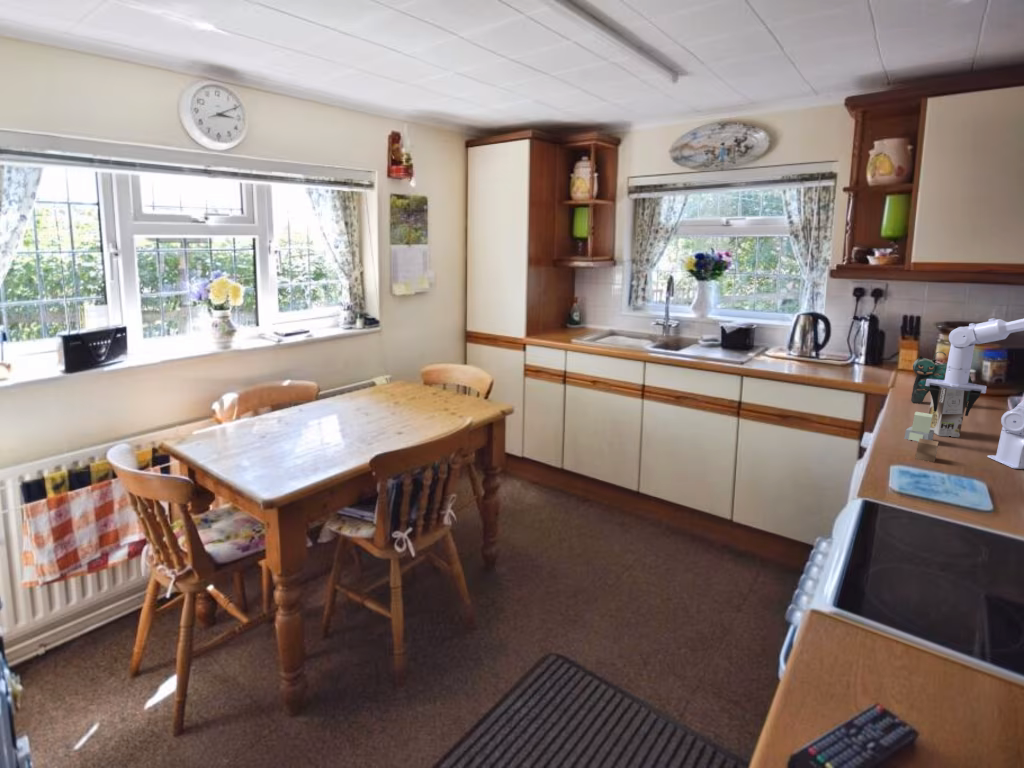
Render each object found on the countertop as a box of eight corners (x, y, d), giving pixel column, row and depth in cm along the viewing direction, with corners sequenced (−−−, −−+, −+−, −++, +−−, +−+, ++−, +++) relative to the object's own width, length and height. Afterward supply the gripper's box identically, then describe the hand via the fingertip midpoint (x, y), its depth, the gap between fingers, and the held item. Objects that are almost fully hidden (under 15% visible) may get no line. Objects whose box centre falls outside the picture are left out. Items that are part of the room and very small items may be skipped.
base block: (932, 441, 195) (934, 430, 194) (926, 445, 191) (928, 434, 190) (910, 436, 200) (912, 425, 199) (903, 440, 196) (905, 429, 195)
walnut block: (935, 458, 179) (938, 441, 178) (934, 462, 176) (937, 445, 174) (916, 455, 182) (919, 438, 181) (915, 459, 178) (918, 442, 177)
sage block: (929, 429, 195) (932, 414, 193) (929, 433, 191) (932, 417, 190) (912, 427, 197) (915, 411, 196) (911, 430, 194) (914, 414, 192)
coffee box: (960, 437, 198) (970, 387, 195) (937, 436, 200) (946, 386, 196) (947, 429, 207) (956, 381, 203) (925, 427, 208) (934, 379, 205)
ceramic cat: (909, 403, 239) (918, 351, 234) (904, 399, 245) (913, 348, 240) (970, 408, 233) (981, 355, 229) (964, 404, 239) (974, 352, 235)
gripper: (927, 366, 186) (920, 411, 189) (989, 373, 178) (980, 420, 181) (929, 363, 191) (922, 406, 194) (989, 369, 183) (981, 415, 186)
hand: (950, 413), depth 188 cm, fingers open, 7 cm apart
